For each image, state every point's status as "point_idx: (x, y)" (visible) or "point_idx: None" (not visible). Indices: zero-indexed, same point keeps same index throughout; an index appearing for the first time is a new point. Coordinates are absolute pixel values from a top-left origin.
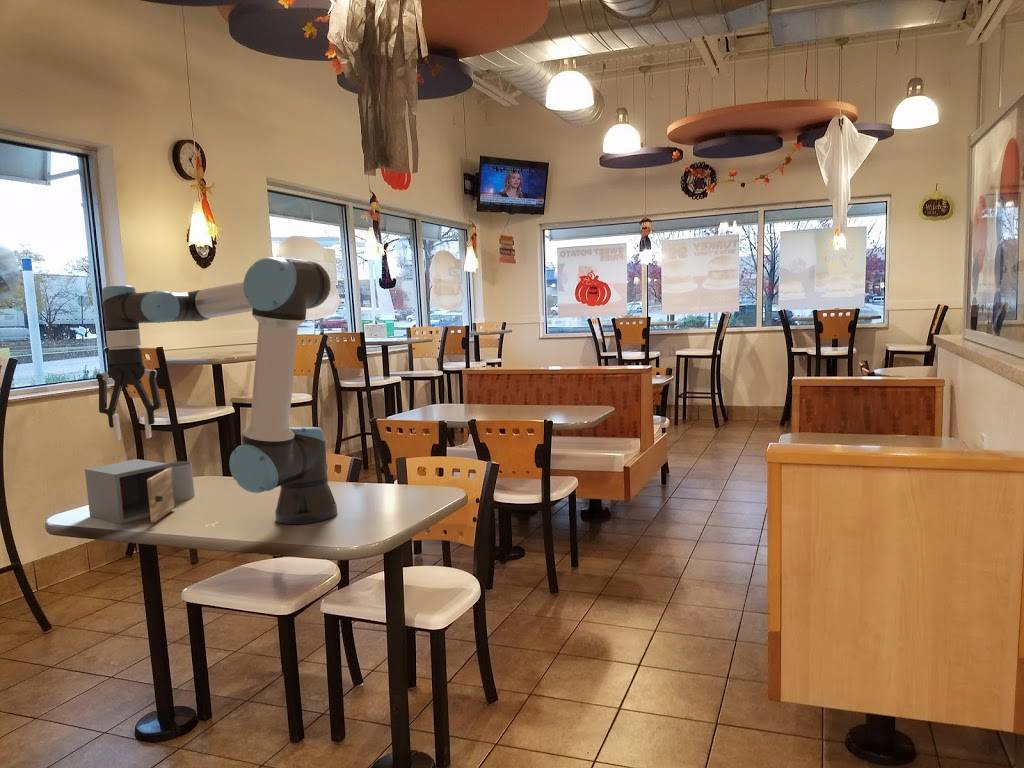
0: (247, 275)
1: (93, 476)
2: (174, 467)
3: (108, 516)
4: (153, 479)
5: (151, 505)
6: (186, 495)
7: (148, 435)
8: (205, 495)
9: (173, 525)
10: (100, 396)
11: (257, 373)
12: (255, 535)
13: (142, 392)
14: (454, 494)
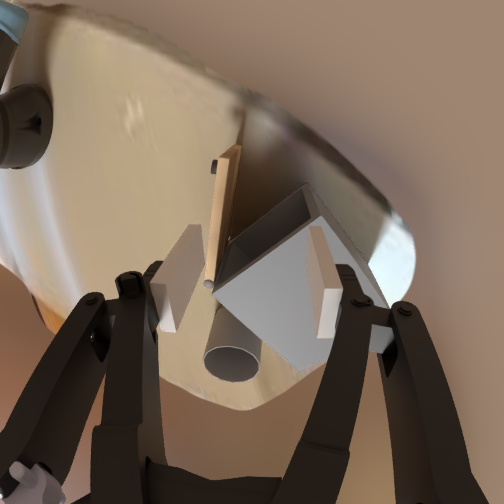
0: None
1: (375, 287)
2: (226, 345)
3: (333, 217)
4: (217, 173)
5: (233, 149)
6: (220, 311)
7: (188, 229)
8: (197, 319)
9: (199, 129)
10: (437, 380)
11: None
12: (70, 41)
13: (110, 382)
14: None
